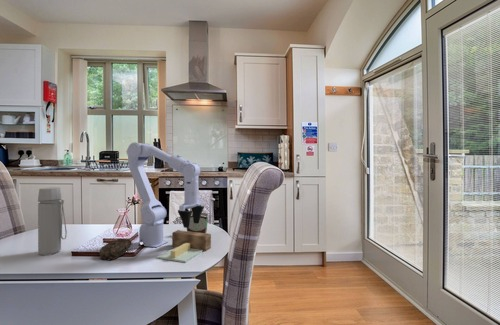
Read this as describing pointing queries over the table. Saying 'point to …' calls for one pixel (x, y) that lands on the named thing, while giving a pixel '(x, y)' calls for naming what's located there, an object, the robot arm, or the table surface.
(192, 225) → the food container
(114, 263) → the table surface
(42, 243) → the water bottle
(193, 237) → the walnut bar
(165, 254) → the ridge stand
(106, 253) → the dark brown rock
